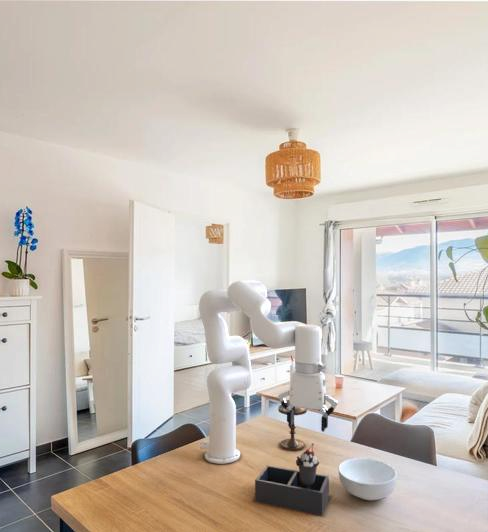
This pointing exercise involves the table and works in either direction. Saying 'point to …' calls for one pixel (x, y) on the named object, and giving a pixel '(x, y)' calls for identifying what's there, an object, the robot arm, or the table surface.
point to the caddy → (291, 490)
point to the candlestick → (292, 443)
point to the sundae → (307, 467)
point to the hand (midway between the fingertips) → (307, 427)
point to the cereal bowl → (367, 478)
